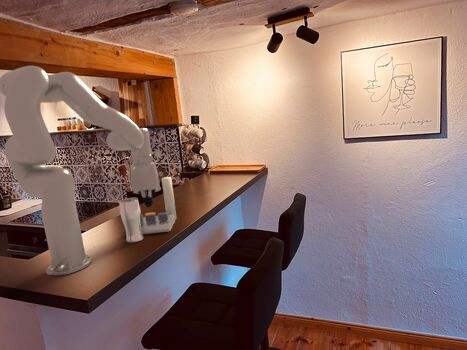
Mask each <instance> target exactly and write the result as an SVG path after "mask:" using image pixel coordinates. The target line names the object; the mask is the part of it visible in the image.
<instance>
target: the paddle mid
mask: <svg viewBox="0 0 467 350" xmlns="http://www.w3.org/2000/svg"><path fill="white" fill-rule="evenodd" d="M156 216H157V215H156V212H146V213H145V214H144V218H146V222H151V221H156Z"/></svg>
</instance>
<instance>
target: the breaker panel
mask: <svg viewBox="0 0 467 350" xmlns="http://www.w3.org/2000/svg"><path fill="white" fill-rule="evenodd" d="M168 217H169V219H168V220H161V221H159V219H158V215H156V221H151V222H146V218H145V217H143V218H144V221H143V222H141V232H142V235H148V234H158V233H159V234H160V233H168V232H169V231H170V232H171V230H172V229H173V226H174V225H173V224H175V223H176V219H175V217H174V215H168ZM170 232H169V233H170Z"/></svg>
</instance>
